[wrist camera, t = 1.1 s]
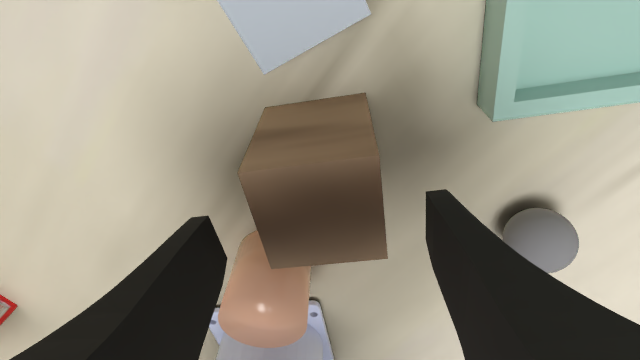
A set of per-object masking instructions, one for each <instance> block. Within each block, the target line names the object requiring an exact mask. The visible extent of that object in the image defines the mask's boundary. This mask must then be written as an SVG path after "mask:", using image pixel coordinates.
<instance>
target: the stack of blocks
mask: <svg viewBox="0 0 640 360" xmlns="http://www.w3.org/2000/svg"><path fill="white" fill-rule="evenodd" d="M16 308H17V305H16V304H14V303H13V302H11V301H10V300H8V299H6V298H5V297H3V296H2V295H0V326H1V324H2V323H3V322H4V321H5V320H6V319H7V318H8V317H9V316H10V315H11V313H12V312H13V311H14V310H15V309H16Z"/></svg>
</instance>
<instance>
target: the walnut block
mask: <svg viewBox="0 0 640 360" xmlns="http://www.w3.org/2000/svg"><path fill="white" fill-rule="evenodd" d="M238 176H239V179H240V182H241V185H242V188H243V190H244V193H245V196H246V199H247V202H248V205H249V207H250V210H251V213H252V216H253V219H254V222H255V225H256V227H257V230H258V233H259V236H260V239H261V242H262V245H263V247H264V250H265V253H266V256H267V259H268V262H269V264H270V267H271V269H280V268H291V267H302V266H312V265H323V264H334V263H345V262H356V261H367V260H378V259H388V256H387V244H386V231H385V219H384V207H383V194H382V182H381V170H380V158H379V152H378V147H377V143H376V138H375V134H374V129H373V125H372V120H371V116H370V111H369V107H368V102H367V98H366V93H360V94H353V95H346V96H340V97H333V98H326V99H319V100H313V101H306V102H299V103H292V104H285V105H279V106H272V107H265V109H264V111H263V114H262V116H261V118H260V121H259V123H258V125H257V128H256V130H255V133H254V135H253V137H252V140H251V142H250V144H249V147H248V149H247V151H246V154H245V156H244V159H243V161H242V163H241V166H240V168H239V170H238Z"/></svg>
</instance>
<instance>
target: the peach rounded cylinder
mask: <svg viewBox="0 0 640 360" xmlns="http://www.w3.org/2000/svg"><path fill="white" fill-rule="evenodd" d="M310 277H311V266H302V267H291V268H280V269H271V267H270V264H269V262H268V259H267V256H266V253H265V250H264V247H263V245H262V242H261V239H260V236H259V233H258V230H257V231H255V232H252V233H250V234H249V235H247V236H246V237H245V238H244V239H243V240H242V242H241V244H240V246H239V249H238V252H237V255H236V259H235V262H234V265H233V268H232V271H231V274H230V278H229V281H228V284H227V287H226V290H225V293H224V297H223V300H222V303H221V306H220V309H219V313H218V322H219V324H220V327H221V328H222V330H223V331H224V332H225V333H226V334H227V335H228V336H230V337H231V338H233V339H235V340H236V341H238V342H241V343H243V344H246V345H250V346H254V347H260V348H277V347H283V346H287V345H290V344H292V343H294V342H296V341H298V340H299V339H300V338H301V337H302V336H303V335H304V334H305V332H306V329H307V320H308V306H309V292H310Z"/></svg>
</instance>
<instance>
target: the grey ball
mask: <svg viewBox="0 0 640 360" xmlns="http://www.w3.org/2000/svg"><path fill="white" fill-rule="evenodd" d="M503 241H504V242H505V243H506V244H507V245H509V246H510V247H511V248H512V249H514V250H515V251H516V252H518V253H519V254H520V255H522V256H523V257H524V258H526V259H527V260H528V261H530V262H531V263H533V264H534V265H536V266H537V267H539V268H540V269H542V270H543V271H545V272H546V273H553V272H557V271H559V270H562V269H563V268H565V267H567V266H568V265H569V264H570V263H571V262H572V261H573V260H574V258H575V257H576V254H577V252H578V248H579V239H578V235H577V232H576V230H575V228H574V227H573V225H572V224H571V223H570V222H569V221H568V220H567V219H566V218H565V217H564V216H562V215H561V214H559V213H557V212H555V211H552V210H549V209H544V208H530V209H526V210H523V211H520V212H518V213H517V214H515V215H514V216H513V217H511V218H510V220H509V221H508V222H507V224H506V225H505V228H504V231H503Z"/></svg>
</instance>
